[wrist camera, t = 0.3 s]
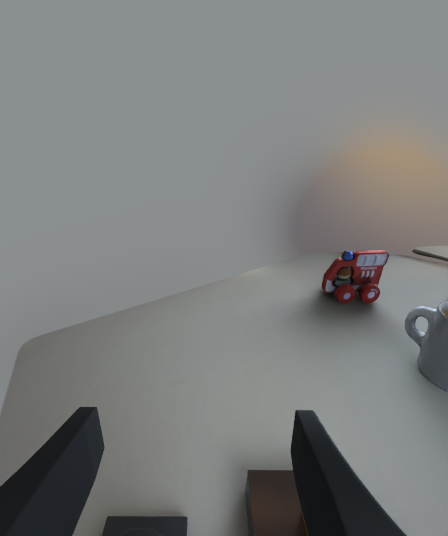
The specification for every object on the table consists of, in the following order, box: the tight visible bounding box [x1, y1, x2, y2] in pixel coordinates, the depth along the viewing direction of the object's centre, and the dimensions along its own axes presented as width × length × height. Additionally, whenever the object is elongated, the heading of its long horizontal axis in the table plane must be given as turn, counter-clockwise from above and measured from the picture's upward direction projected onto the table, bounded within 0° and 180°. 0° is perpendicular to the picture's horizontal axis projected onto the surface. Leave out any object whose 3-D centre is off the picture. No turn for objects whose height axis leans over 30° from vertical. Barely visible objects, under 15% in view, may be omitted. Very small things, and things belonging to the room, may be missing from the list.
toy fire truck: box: [322, 250, 389, 304], centre depth 66 cm, size 7×12×10 cm, turn 97°
